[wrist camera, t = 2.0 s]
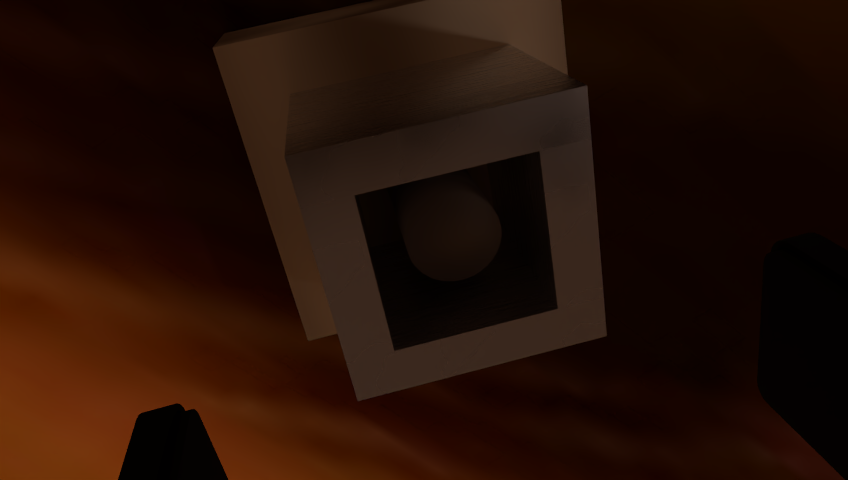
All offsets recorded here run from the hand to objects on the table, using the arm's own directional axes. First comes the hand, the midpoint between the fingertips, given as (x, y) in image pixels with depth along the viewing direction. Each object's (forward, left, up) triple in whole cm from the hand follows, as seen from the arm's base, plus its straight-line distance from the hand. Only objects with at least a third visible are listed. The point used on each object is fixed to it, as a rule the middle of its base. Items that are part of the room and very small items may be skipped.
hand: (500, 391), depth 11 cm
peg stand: (-1, 0, -14) cm, 14 cm away
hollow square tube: (-1, 0, -11) cm, 11 cm away
